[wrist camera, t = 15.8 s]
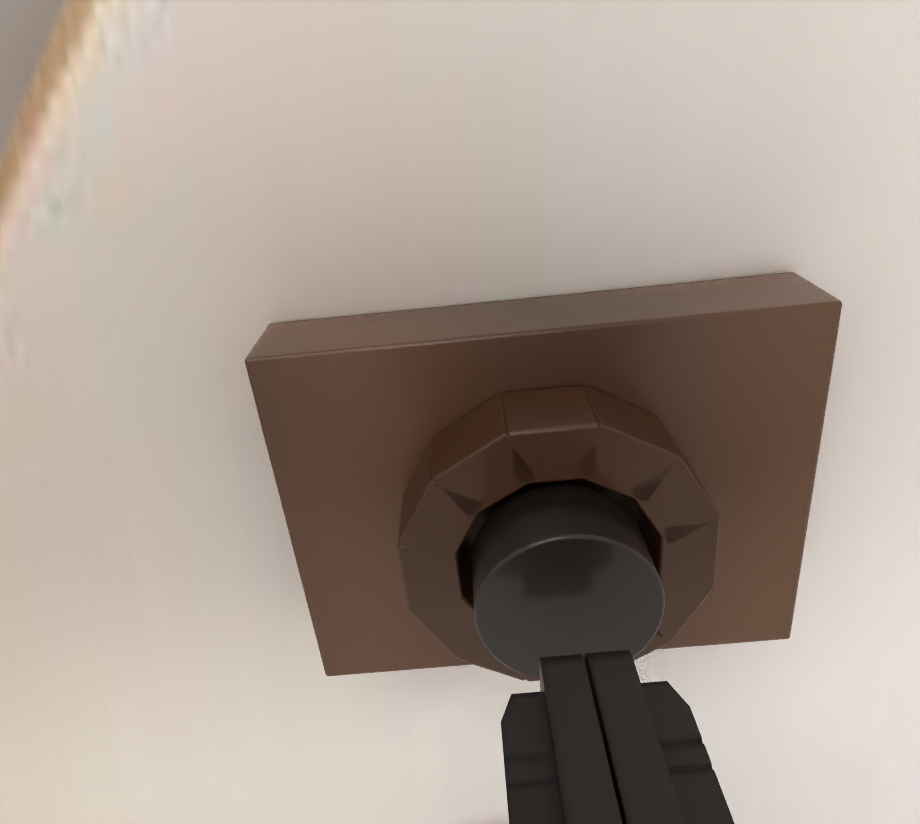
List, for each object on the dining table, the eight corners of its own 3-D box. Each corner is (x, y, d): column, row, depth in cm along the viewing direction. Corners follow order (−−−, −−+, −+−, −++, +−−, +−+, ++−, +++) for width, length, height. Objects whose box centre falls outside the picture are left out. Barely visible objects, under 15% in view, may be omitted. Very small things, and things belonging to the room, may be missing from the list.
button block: (337, 617, 20) (313, 737, 16) (268, 323, 16) (215, 398, 12) (756, 581, 20) (824, 697, 16) (794, 271, 16) (897, 333, 12)
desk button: (478, 626, 15) (482, 689, 14) (463, 491, 14) (465, 545, 12) (640, 613, 15) (662, 674, 14) (644, 475, 14) (669, 527, 12)
